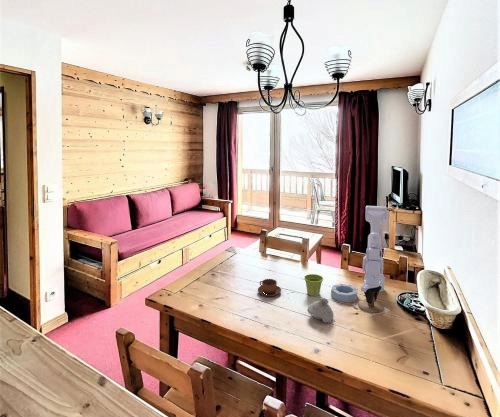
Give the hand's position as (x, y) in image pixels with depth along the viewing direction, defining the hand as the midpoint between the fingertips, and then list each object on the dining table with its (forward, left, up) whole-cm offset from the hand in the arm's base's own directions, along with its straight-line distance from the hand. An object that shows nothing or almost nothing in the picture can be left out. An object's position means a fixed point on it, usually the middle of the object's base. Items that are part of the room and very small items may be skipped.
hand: (371, 301), depth 146 cm
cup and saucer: (+36, -33, -3) cm, 49 cm away
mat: (0, 0, -3) cm, 3 cm away
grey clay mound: (+26, -2, -3) cm, 26 cm away
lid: (0, 0, -3) cm, 3 cm away
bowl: (+4, -14, -3) cm, 15 cm away
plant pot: (+16, -23, -3) cm, 28 cm away
